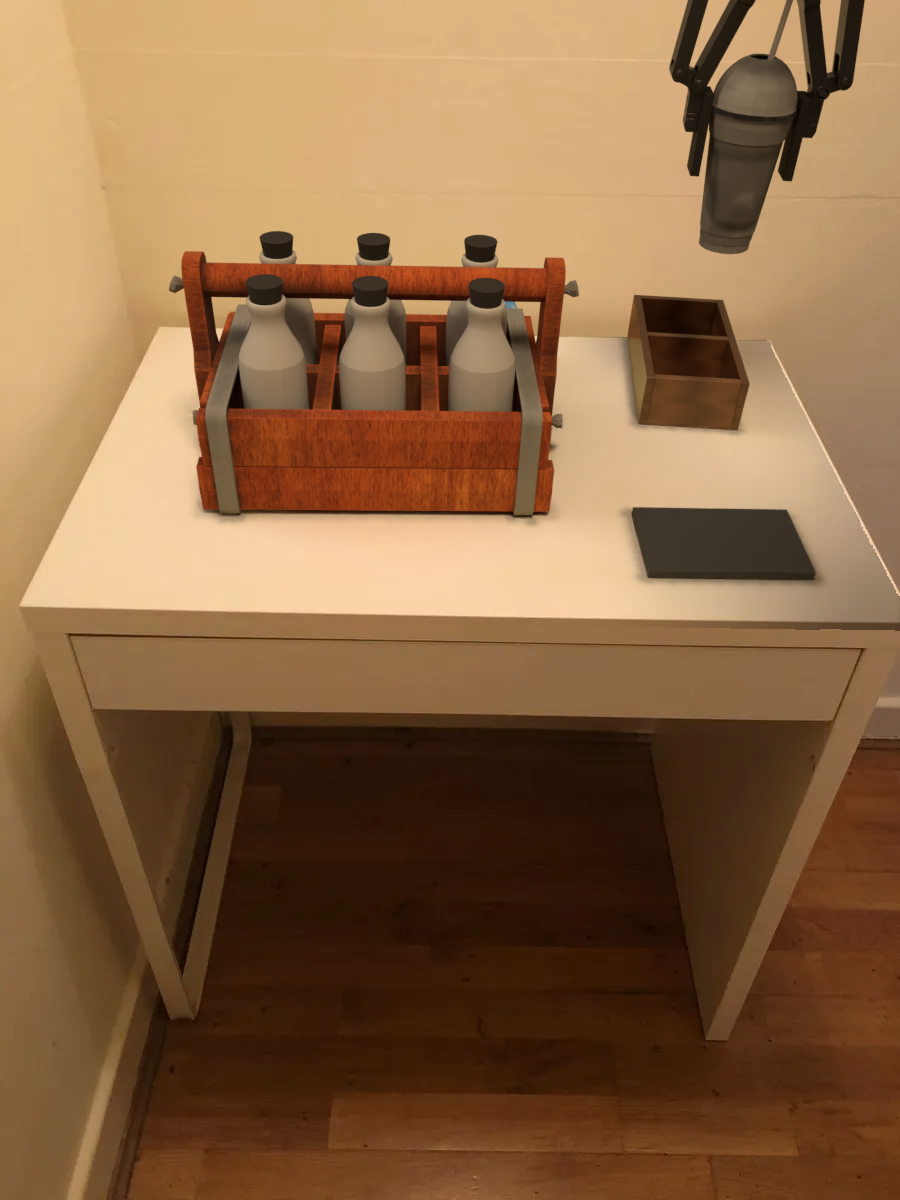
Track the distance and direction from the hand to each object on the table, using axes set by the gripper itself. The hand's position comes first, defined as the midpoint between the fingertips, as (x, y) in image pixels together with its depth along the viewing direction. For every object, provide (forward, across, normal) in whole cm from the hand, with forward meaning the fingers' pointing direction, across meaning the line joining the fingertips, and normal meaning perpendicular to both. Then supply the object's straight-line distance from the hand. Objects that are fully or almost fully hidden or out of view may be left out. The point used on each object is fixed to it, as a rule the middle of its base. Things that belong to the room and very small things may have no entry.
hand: (738, 173), depth 86 cm
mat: (+24, 0, +22) cm, 33 cm away
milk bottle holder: (+25, +31, +11) cm, 41 cm away
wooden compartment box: (+24, 0, -8) cm, 25 cm away
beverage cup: (+7, 0, 0) cm, 7 cm away
